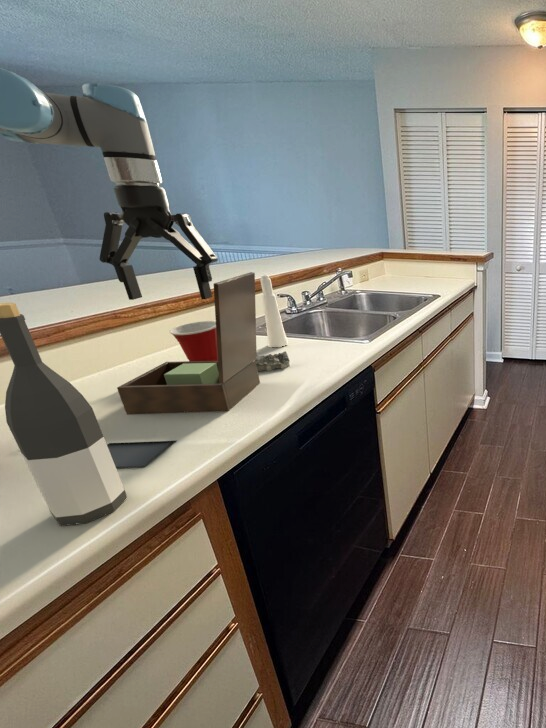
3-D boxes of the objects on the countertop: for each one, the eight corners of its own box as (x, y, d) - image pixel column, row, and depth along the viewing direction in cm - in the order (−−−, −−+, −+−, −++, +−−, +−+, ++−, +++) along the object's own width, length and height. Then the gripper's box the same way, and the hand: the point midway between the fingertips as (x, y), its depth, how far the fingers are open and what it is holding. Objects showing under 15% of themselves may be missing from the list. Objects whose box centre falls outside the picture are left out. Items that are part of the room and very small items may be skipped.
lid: (213, 283, 80) (217, 284, 80) (250, 272, 94) (254, 272, 94) (219, 382, 87) (223, 383, 87) (253, 358, 101) (256, 358, 102)
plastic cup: (177, 368, 115) (164, 325, 110) (222, 359, 122) (212, 318, 117) (187, 378, 108) (173, 333, 103) (234, 368, 115) (224, 325, 111)
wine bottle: (84, 530, 57) (-16, 313, 46) (36, 522, 59) (-73, 309, 47) (142, 494, 65) (68, 299, 53) (98, 487, 66) (17, 296, 55)
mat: (72, 470, 70) (71, 468, 70) (120, 437, 80) (120, 435, 80) (144, 467, 71) (143, 465, 71) (183, 435, 81) (182, 433, 81)
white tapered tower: (291, 345, 135) (278, 275, 127) (270, 349, 132) (256, 277, 123) (285, 341, 139) (272, 273, 131) (265, 344, 136) (250, 274, 127)
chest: (127, 418, 88) (116, 387, 85) (174, 388, 102) (166, 361, 99) (229, 414, 90) (221, 385, 87) (261, 386, 104) (255, 360, 102)
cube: (172, 404, 92) (163, 374, 89) (191, 391, 98) (183, 363, 96) (207, 403, 93) (199, 373, 90) (223, 390, 99) (216, 362, 97)
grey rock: (246, 377, 110) (242, 362, 108) (246, 368, 116) (243, 354, 114) (291, 371, 115) (288, 356, 113) (289, 362, 121) (287, 348, 119)
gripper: (220, 187, 84) (244, 294, 92) (81, 184, 81) (118, 295, 89) (199, 185, 77) (227, 301, 85) (46, 182, 74) (90, 302, 82)
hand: (171, 298), depth 87 cm, fingers open, 13 cm apart
